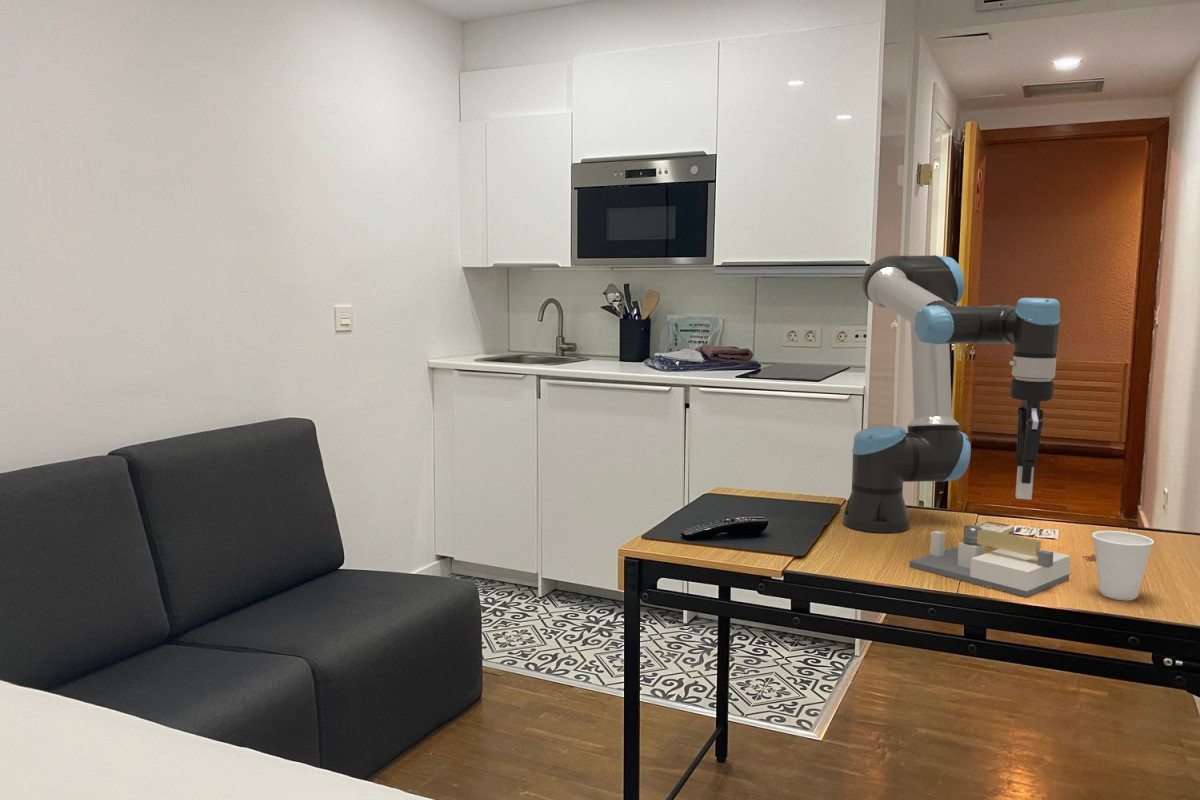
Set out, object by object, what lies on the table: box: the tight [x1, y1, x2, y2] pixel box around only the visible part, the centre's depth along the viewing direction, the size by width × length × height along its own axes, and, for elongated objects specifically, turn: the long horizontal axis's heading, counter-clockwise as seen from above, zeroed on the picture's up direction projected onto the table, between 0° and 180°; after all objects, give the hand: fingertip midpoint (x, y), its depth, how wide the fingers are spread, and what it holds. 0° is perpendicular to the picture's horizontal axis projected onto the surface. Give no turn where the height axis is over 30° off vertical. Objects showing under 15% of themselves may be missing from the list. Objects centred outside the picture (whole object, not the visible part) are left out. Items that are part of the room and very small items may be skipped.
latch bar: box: [962, 524, 1042, 557], centre depth 178 cm, size 15×3×3 cm, turn 40°
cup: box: [1091, 530, 1155, 602], centre depth 168 cm, size 10×10×11 cm
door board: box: [908, 530, 1071, 598], centre depth 181 cm, size 25×17×7 cm
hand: (1023, 498), depth 180 cm, fingers closed
